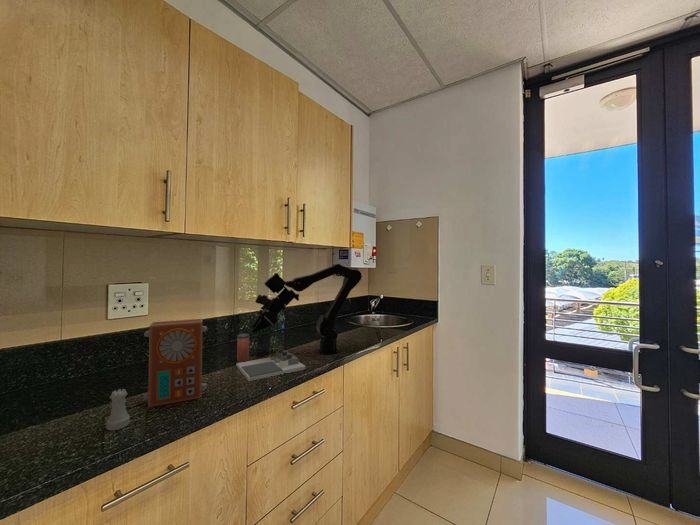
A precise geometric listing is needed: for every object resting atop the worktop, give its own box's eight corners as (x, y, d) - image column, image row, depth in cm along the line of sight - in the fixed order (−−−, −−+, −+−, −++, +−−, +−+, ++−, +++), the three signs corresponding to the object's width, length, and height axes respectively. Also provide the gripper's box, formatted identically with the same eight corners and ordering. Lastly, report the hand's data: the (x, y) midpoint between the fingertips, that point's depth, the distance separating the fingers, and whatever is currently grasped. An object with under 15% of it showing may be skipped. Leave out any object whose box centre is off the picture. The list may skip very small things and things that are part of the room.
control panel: (206, 398, 81) (141, 409, 74) (206, 388, 87) (146, 399, 80) (207, 321, 81) (143, 326, 74) (207, 317, 88) (147, 321, 81)
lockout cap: (247, 357, 118) (247, 333, 118) (250, 360, 114) (250, 335, 114) (236, 359, 115) (236, 334, 115) (238, 362, 112) (238, 336, 112)
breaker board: (287, 357, 118) (287, 346, 118) (305, 369, 104) (305, 356, 104) (236, 366, 107) (236, 354, 107) (248, 381, 93) (248, 366, 93)
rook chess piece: (100, 429, 65) (101, 393, 65) (122, 419, 69) (123, 386, 69) (113, 433, 63) (114, 396, 64) (134, 423, 68) (135, 388, 68)
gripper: (266, 286, 127) (239, 312, 123) (268, 289, 110) (237, 319, 106) (284, 303, 130) (258, 329, 126) (289, 309, 112) (259, 339, 108)
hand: (253, 329), depth 116 cm, fingers open, 9 cm apart
